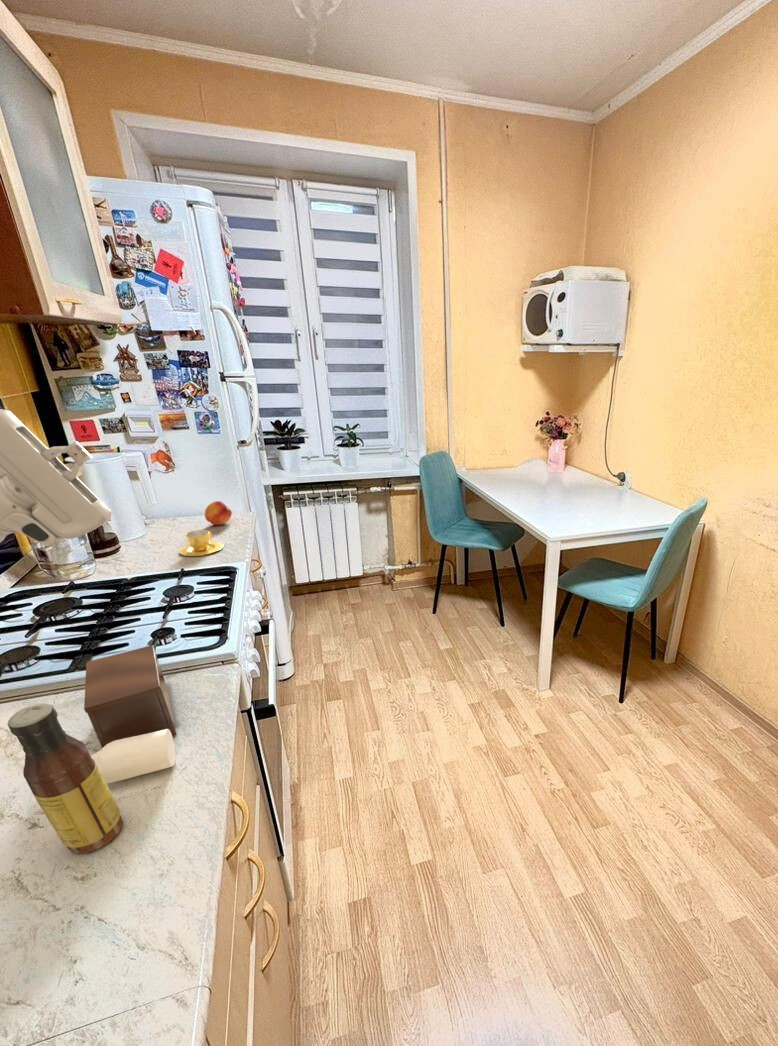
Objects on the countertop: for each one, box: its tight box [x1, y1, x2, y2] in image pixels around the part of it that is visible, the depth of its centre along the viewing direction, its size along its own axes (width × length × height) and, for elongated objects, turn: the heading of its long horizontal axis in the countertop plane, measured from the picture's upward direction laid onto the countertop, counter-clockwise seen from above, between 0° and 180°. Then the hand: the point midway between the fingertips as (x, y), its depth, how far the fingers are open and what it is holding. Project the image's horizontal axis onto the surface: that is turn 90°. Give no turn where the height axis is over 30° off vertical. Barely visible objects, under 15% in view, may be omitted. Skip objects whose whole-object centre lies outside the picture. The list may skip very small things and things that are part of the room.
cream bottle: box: [90, 729, 176, 784], centre depth 74 cm, size 6×12×6 cm, turn 114°
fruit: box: [204, 500, 233, 526], centre depth 177 cm, size 8×8×8 cm
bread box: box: [86, 651, 177, 749], centre depth 83 cm, size 13×9×9 cm
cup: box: [179, 529, 224, 557], centre depth 155 cm, size 12×12×5 cm
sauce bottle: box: [7, 702, 124, 854], centre depth 61 cm, size 6×6×20 cm
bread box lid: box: [83, 644, 161, 714], centre depth 80 cm, size 14×9×1 cm, turn 34°
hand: (83, 449), depth 79 cm, fingers closed
